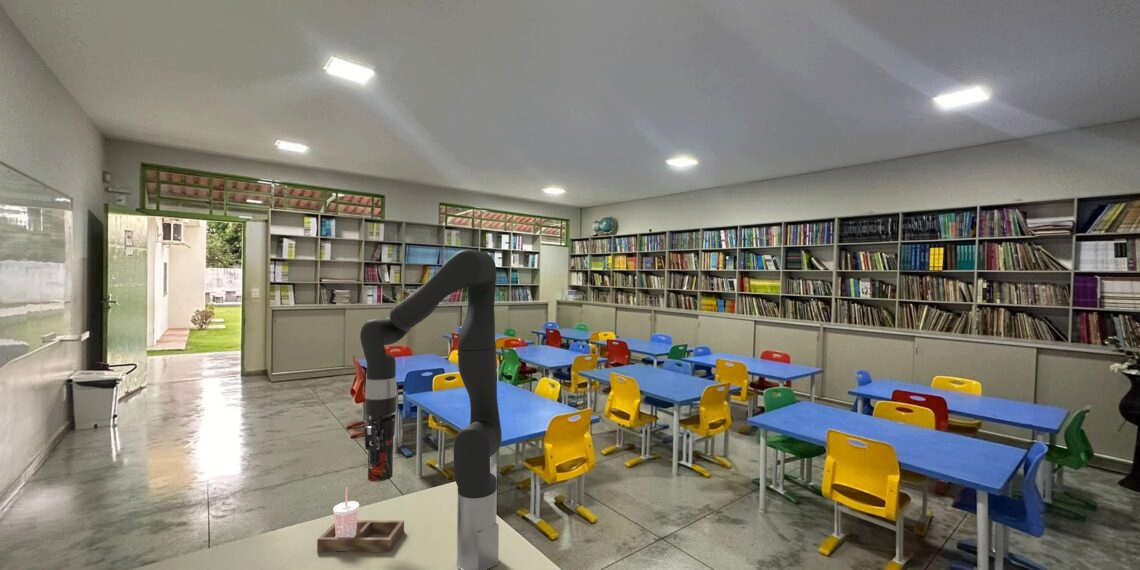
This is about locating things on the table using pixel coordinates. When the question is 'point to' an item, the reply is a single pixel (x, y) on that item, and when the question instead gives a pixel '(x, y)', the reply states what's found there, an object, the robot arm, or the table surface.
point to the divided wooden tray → (363, 537)
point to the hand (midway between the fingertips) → (380, 459)
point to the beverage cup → (346, 518)
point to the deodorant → (383, 453)
